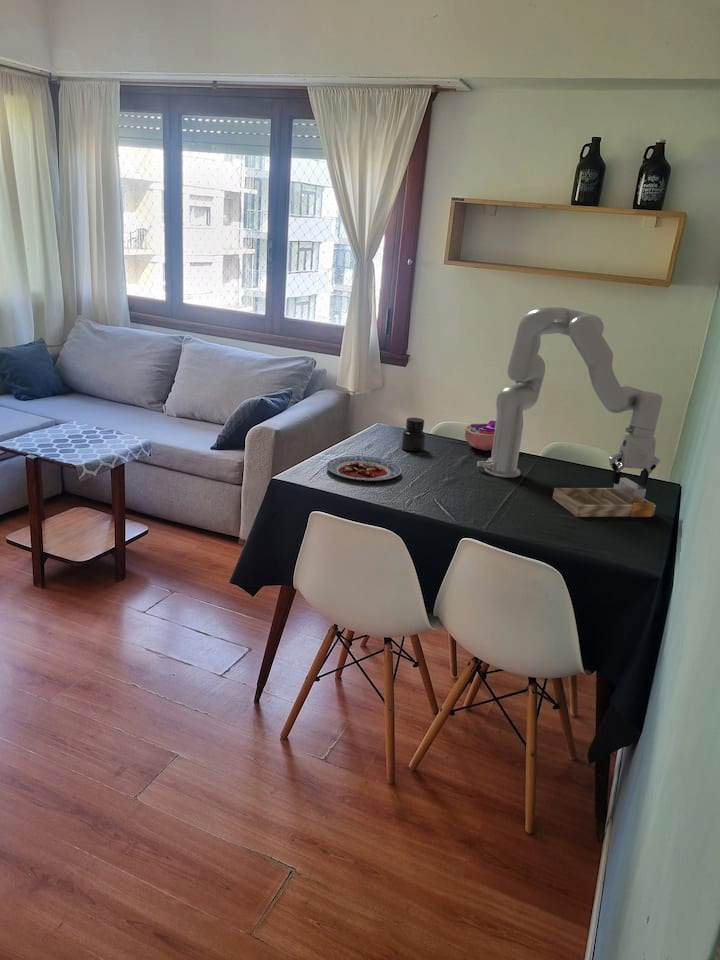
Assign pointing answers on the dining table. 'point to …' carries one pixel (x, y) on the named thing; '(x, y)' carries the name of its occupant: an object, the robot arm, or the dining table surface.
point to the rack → (600, 503)
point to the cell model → (481, 435)
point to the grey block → (629, 491)
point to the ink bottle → (414, 435)
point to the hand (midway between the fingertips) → (628, 483)
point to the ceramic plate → (363, 468)
